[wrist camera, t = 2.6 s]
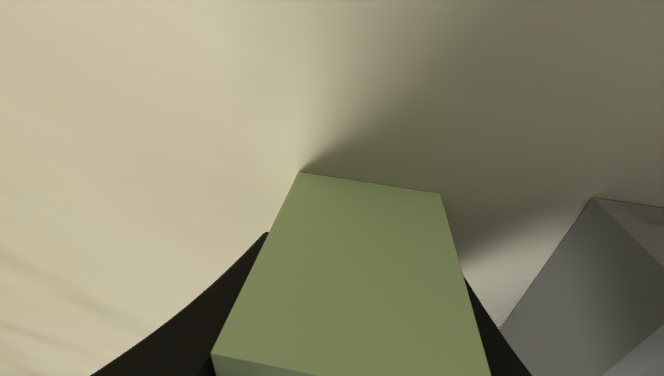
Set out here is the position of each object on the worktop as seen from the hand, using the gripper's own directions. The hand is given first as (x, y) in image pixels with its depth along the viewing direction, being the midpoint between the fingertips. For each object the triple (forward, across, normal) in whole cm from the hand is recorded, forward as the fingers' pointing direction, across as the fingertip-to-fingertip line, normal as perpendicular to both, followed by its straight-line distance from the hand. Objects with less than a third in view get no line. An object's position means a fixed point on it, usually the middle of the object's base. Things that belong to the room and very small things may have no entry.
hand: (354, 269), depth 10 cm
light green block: (+2, 0, 0) cm, 2 cm away
